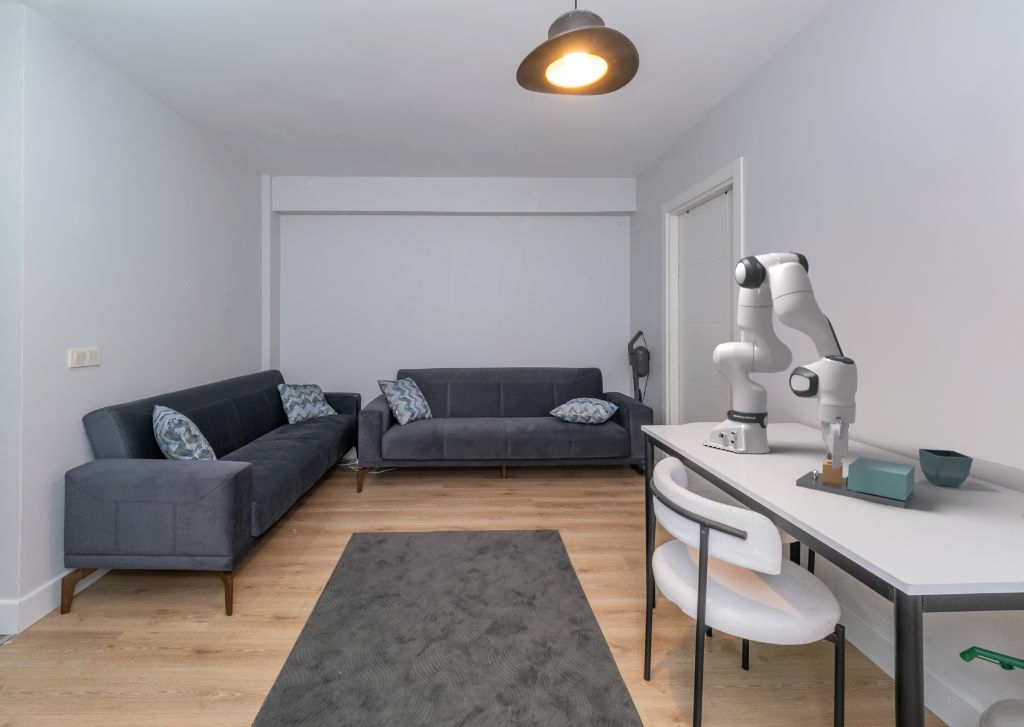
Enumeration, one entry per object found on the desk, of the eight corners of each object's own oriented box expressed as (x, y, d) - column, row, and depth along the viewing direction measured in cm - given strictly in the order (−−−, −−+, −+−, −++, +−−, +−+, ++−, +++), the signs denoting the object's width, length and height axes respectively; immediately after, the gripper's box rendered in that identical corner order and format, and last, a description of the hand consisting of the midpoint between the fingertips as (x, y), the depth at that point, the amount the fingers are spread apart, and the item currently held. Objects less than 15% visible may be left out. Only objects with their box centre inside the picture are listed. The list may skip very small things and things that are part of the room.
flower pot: (972, 490, 135) (974, 457, 134) (935, 487, 137) (937, 456, 136) (950, 480, 144) (952, 450, 143) (916, 478, 145) (917, 448, 145)
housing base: (796, 485, 138) (796, 464, 138) (810, 476, 147) (811, 456, 147) (904, 508, 121) (905, 484, 120) (913, 496, 130) (914, 473, 129)
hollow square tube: (821, 481, 137) (822, 463, 137) (822, 477, 141) (823, 460, 140) (841, 484, 134) (842, 466, 134) (841, 480, 138) (842, 462, 138)
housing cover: (847, 488, 130) (848, 464, 129) (858, 479, 138) (859, 457, 138) (905, 500, 121) (906, 474, 121) (913, 489, 129) (914, 465, 129)
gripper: (856, 422, 126) (853, 475, 127) (843, 409, 144) (840, 455, 145) (827, 420, 129) (824, 472, 130) (818, 407, 147) (815, 453, 148)
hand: (833, 463), depth 138 cm, fingers open, 8 cm apart
